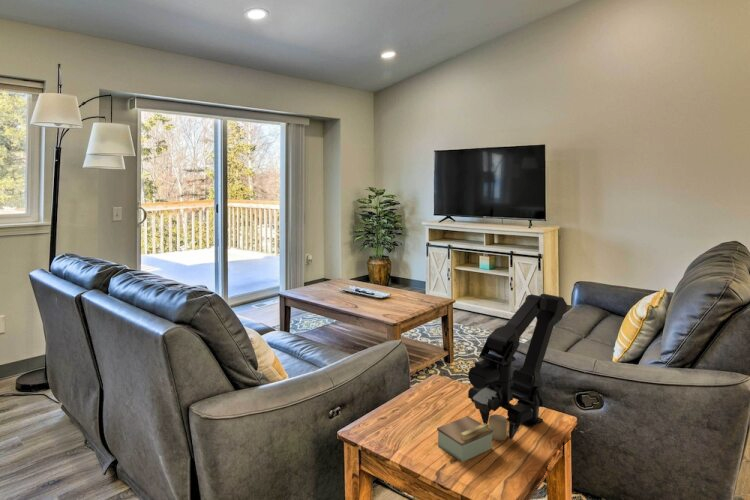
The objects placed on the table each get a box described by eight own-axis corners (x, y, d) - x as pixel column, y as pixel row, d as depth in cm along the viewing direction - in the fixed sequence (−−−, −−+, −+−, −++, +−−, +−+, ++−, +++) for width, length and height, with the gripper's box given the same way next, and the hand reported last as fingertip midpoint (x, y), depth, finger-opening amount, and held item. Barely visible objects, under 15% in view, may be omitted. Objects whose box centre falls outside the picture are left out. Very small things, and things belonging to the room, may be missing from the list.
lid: (467, 417, 129) (467, 410, 129) (492, 432, 122) (493, 424, 121) (436, 429, 123) (437, 422, 122) (461, 445, 115) (461, 437, 115)
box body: (466, 433, 129) (467, 419, 129) (491, 448, 122) (492, 433, 122) (437, 445, 123) (438, 430, 123) (461, 462, 116) (462, 446, 115)
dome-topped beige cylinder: (496, 429, 132) (497, 412, 131) (510, 436, 128) (511, 420, 127) (484, 434, 129) (485, 417, 129) (498, 442, 125) (499, 425, 125)
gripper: (455, 373, 130) (453, 425, 132) (507, 398, 114) (505, 456, 116) (482, 365, 136) (480, 414, 138) (535, 387, 120) (532, 443, 123)
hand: (497, 431), depth 128 cm, fingers open, 9 cm apart
